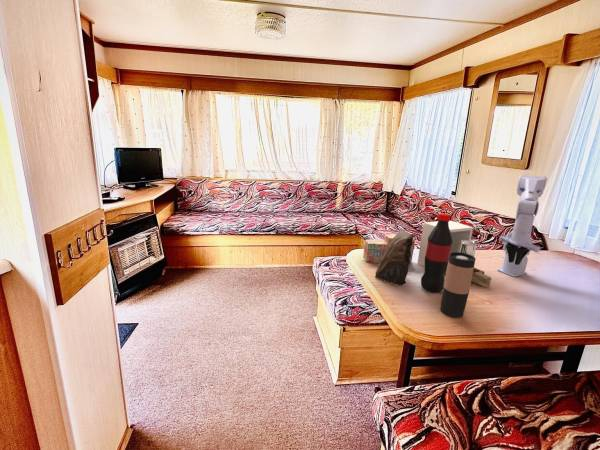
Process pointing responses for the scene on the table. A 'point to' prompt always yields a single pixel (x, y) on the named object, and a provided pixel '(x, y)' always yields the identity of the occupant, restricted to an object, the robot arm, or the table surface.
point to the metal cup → (466, 247)
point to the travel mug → (457, 284)
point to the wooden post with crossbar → (480, 278)
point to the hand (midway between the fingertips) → (514, 263)
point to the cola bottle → (437, 255)
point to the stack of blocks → (379, 248)
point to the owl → (396, 259)
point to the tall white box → (457, 234)
